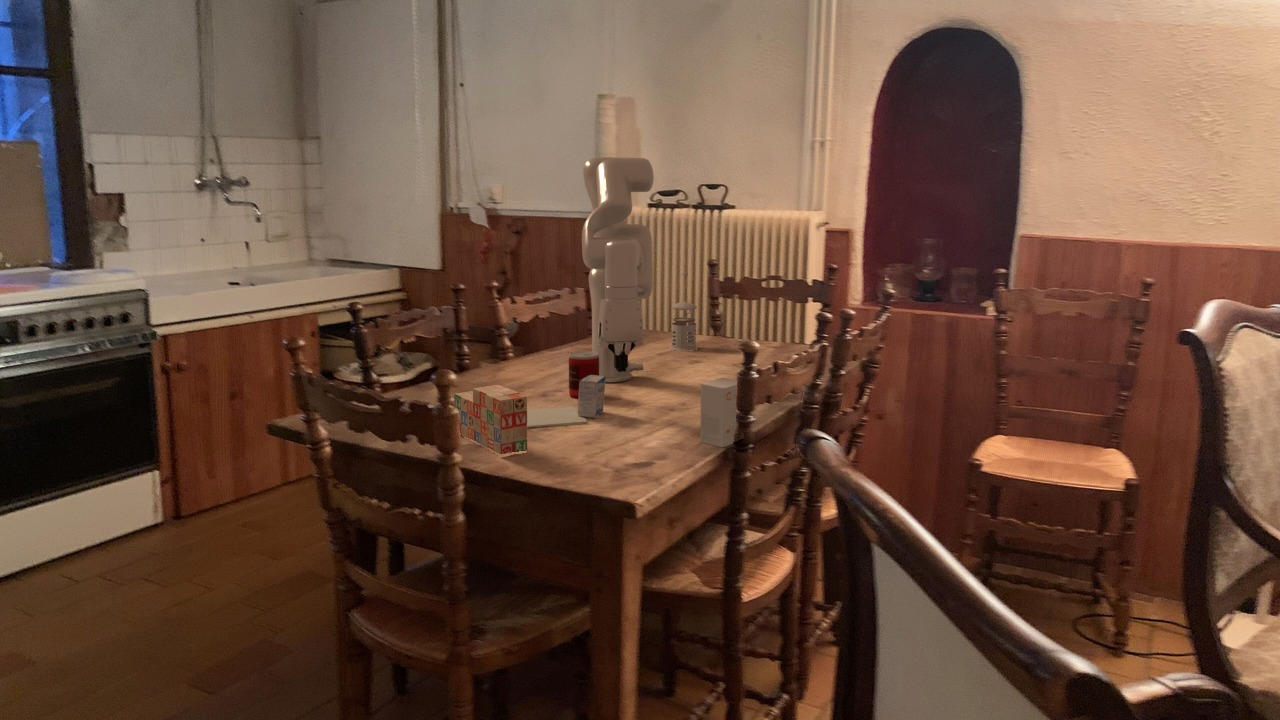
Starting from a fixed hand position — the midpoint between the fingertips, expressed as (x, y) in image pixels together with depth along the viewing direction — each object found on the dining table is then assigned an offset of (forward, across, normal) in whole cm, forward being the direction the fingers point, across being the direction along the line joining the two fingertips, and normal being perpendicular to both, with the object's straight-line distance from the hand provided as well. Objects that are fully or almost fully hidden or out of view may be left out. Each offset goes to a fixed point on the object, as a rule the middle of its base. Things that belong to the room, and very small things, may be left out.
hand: (620, 370), depth 224 cm
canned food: (+10, +4, -20) cm, 23 cm away
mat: (+10, +19, -1) cm, 22 cm away
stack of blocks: (+11, +34, +15) cm, 39 cm away
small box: (+11, -14, +28) cm, 34 cm away
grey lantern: (+9, -44, -74) cm, 86 cm away
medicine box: (+10, +7, -1) cm, 13 cm away
